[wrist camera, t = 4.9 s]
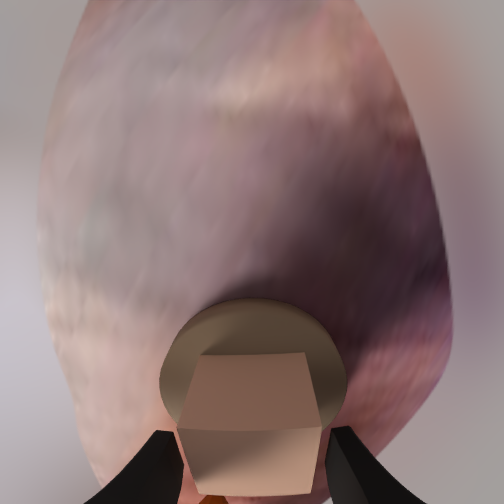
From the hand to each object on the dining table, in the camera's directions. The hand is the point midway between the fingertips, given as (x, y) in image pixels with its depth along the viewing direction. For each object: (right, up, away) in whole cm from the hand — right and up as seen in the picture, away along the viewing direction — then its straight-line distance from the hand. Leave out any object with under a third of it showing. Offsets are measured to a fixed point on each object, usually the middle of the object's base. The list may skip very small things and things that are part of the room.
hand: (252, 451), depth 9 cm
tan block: (0, +1, +3) cm, 3 cm away
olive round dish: (0, +1, +5) cm, 5 cm away
